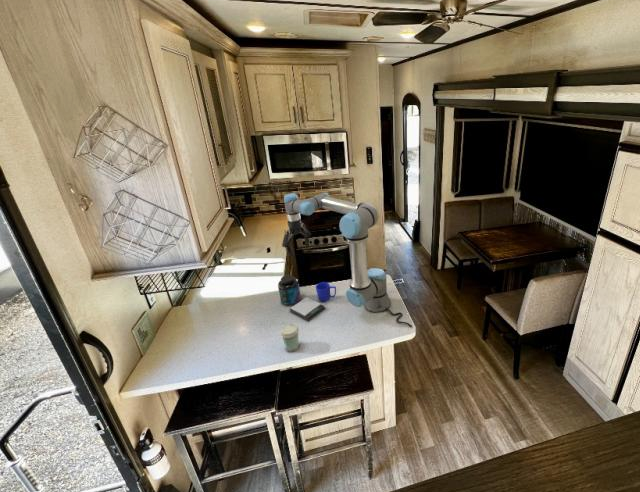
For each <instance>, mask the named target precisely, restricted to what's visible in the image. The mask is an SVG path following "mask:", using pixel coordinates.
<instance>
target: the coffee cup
mask: <svg viewBox="0 0 640 492" xmlns="http://www.w3.org/2000/svg"><path fill="white" fill-rule="evenodd" d="M299 331H300V329H299V327H298V325H297V324H295V323H288V324H286V325H284V326H282V327H281V330H280V336H281V337H282V340H283V343H284V346H285V348H286V351H287V352H289V353H291V352H295V351H297V350H298V349H299V345H300V343H299Z"/></svg>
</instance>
